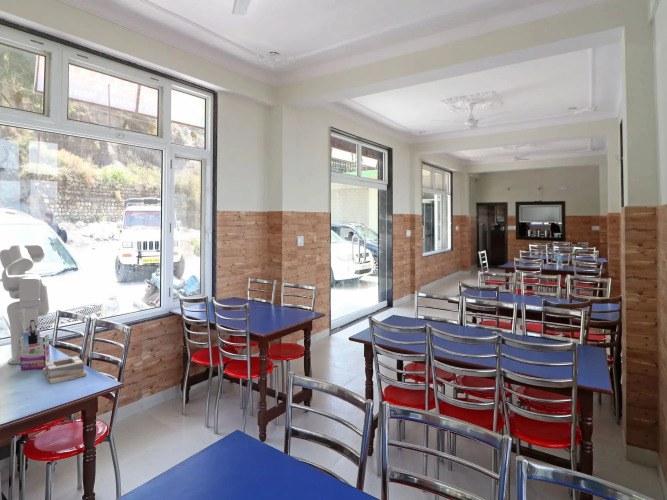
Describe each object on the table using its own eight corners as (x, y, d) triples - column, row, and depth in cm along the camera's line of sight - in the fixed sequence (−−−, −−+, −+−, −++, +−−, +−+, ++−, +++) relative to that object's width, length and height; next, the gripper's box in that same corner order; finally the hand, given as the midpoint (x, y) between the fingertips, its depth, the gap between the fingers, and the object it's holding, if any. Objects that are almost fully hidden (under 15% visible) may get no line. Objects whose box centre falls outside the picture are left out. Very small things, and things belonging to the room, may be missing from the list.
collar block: (43, 371, 193) (42, 360, 192) (76, 364, 202) (76, 354, 202) (50, 383, 178) (50, 371, 178) (86, 375, 188) (85, 364, 188)
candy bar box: (50, 365, 201) (49, 334, 199) (45, 369, 196) (44, 337, 194) (25, 367, 198) (24, 335, 197) (20, 370, 193) (18, 338, 192)
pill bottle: (31, 350, 178) (30, 325, 177) (20, 348, 179) (19, 324, 178) (43, 345, 184) (42, 322, 183) (32, 344, 185) (31, 321, 184)
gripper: (17, 301, 183) (19, 339, 185) (22, 308, 171) (24, 348, 172) (37, 299, 188) (38, 336, 190) (43, 305, 176) (45, 344, 177)
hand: (31, 341), depth 181 cm, fingers closed on pill bottle, 6 cm apart
